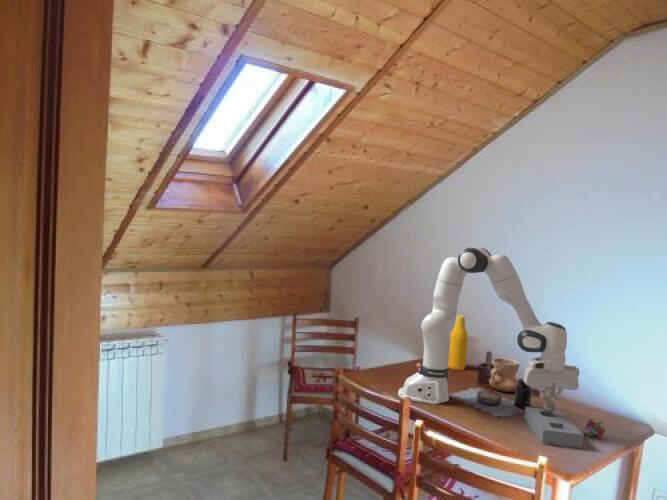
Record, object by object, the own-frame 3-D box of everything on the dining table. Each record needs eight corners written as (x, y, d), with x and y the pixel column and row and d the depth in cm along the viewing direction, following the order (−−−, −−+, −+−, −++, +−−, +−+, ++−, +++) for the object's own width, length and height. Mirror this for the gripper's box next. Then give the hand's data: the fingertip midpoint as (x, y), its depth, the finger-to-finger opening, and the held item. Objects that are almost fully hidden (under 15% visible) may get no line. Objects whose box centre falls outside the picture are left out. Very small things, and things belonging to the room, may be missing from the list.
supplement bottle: (531, 410, 218) (534, 383, 218) (515, 408, 220) (517, 381, 219) (528, 405, 225) (531, 378, 225) (512, 403, 226) (515, 376, 226)
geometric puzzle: (613, 435, 191) (602, 414, 195) (603, 438, 187) (592, 417, 191) (597, 440, 196) (587, 420, 200) (587, 443, 192) (577, 422, 196)
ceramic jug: (505, 383, 256) (507, 355, 256) (528, 392, 243) (530, 363, 243) (478, 387, 248) (480, 358, 247) (501, 396, 235) (503, 366, 234)
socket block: (542, 443, 184) (543, 430, 184) (524, 418, 208) (525, 406, 208) (582, 447, 183) (583, 434, 182) (559, 422, 206) (560, 410, 206)
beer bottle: (446, 364, 284) (451, 313, 283) (463, 366, 283) (468, 315, 282) (448, 369, 275) (453, 316, 274) (466, 371, 274) (470, 318, 273)
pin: (544, 412, 199) (547, 382, 198) (541, 408, 203) (544, 379, 202) (555, 413, 199) (557, 383, 198) (551, 409, 203) (554, 380, 202)
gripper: (576, 364, 202) (573, 398, 203) (524, 359, 204) (521, 393, 205) (582, 368, 196) (579, 403, 196) (528, 363, 198) (525, 398, 198)
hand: (549, 398), depth 201 cm, fingers closed on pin, 4 cm apart
